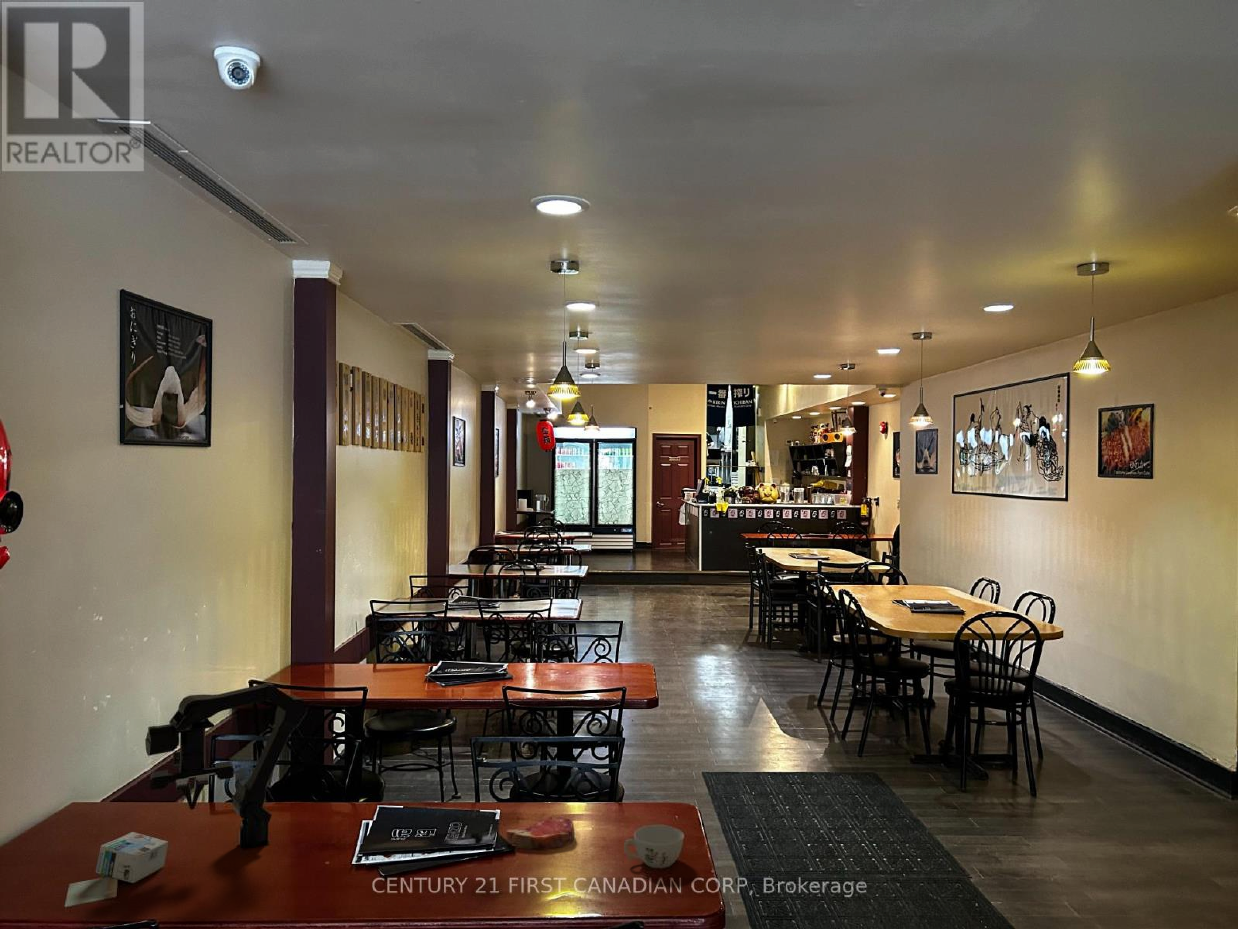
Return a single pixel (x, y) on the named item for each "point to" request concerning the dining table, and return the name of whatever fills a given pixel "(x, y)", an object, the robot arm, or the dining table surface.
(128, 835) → the light bulb box
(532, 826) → the steak
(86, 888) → the gray and beige tray
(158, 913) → the dining table surface
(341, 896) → the dining table surface
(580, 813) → the dining table surface
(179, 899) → the dining table surface
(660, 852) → the teacup
